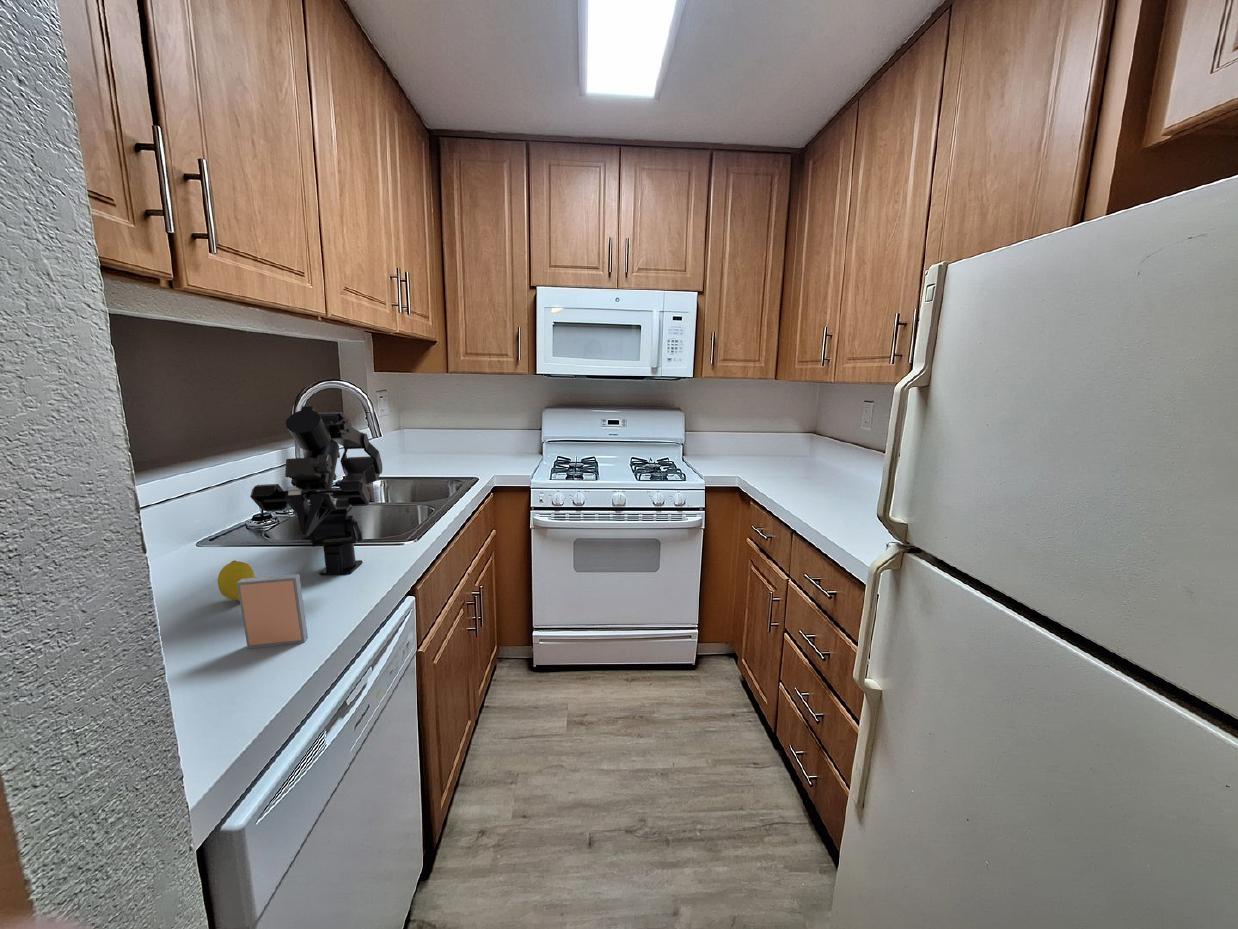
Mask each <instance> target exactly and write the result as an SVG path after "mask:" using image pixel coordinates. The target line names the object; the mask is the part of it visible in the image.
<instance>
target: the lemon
mask: <svg viewBox="0 0 1238 929" xmlns="http://www.w3.org/2000/svg"><path fill="white" fill-rule="evenodd" d="M246 578H256V575H255V572H254V570H253V568H252V567H251V565H249V564H248V563H246V562H244V561H237V560H236V559H235V560H234V559H233V560H231V561H230V562H229V563H227V564H226V565H225V566H222V568H221V569H220V571H219V573H218V576H217V586H218V590H219V592H220V594H221V595H222V596H223V597H225V598H227V599H230V600H235V601H237V602H240V599H239V593H238V587H237V582H238V581H240V580H241V579H246Z"/></svg>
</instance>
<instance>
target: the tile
mask: <svg viewBox="0 0 1238 929" xmlns="http://www.w3.org/2000/svg"><path fill="white" fill-rule="evenodd" d="M237 587H238V593H239V599H240V601H239V605H240V610H241V611H240V612H241V617H242V622H243V628H244V635H245V641H246V646H247V649H258V648H267V647H274V646H275V647H277V646H276V645H278V646H283V645H282V644H287V645H295V644H303V643H306V642H307V641H308V638H309V636H308V627H307V621H306V613H305V606H304V605H305V604H304V599H303V592H302V584H301V576H300V573H298V574H296V573H295V574H284V575H272V576H261V577H255V578H246V579H241V580H240V581H238V582H237Z"/></svg>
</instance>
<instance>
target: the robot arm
mask: <svg viewBox="0 0 1238 929" xmlns="http://www.w3.org/2000/svg"><path fill="white" fill-rule="evenodd" d="M316 410H317V409H315V406H314V405H302V406H301V409H300V410H298V411H296V412H294V413H292V414H291V415H289V417H288V418H286V420H285V427H286V428H287V430H288V431H289V433H290V434H291V436H292V438H293V440H294V442H296V444H297V445H298V447H299V449H302V450H304V455H303V457H300V458H299V457H297V458H286V459H285V469H284V472H285V473H284V476H285V478H290V479H291V480H290V481H291V482H290V484H291V485H292V487H289V488H287V490H284V489H283V488H282V487H281V485H280V484H279V483H273V484H272V483H271V484H269V483H268V484H257V485H255V486H254V487H253V488H252V490H251V493H250V496H249V497H250V498H251V499H252V501H253V502H254V503H255V505H257V506H258V507H259V508H260V509H261V511H264V512H266V513H267V512H282V511H284V510H285V509H286V508H288V505H289V507H290V508H291V510H292V511H293V512H294V513H295V514H296V516H297V521H298V524H299V529H300V534H301V536H302V537H303V538H304V537H305V538H306V537H309V539H310V542H311V546H312V547H314V548H316V547H319V546H320V547H321V546H322V547H323V556H324V563H325V564H324V565H325V566H324V568H322V569H321V570H320V571H319V572H318V575H321V576H322V575H323V576H324V575H344V574H345V575H348V574H352V572H354V571H355V570H356V569H357V568H358V567H359V566H360V565H361V564H363V560H362V559H361V560H360V559H359V560H357V559H356V551H355V544H358V542H361V541H363V540H364V536H363V535H364V534H363V533H364V532H363V526H362V525H361V524H360V522H359V520H358V518H357V517H356V516H355V510H356V508H357V507H364V506H365V507H366V506H369V505H370V499H371V497H370V496H371V494H370V491H369V490H368V487H367V485H370V484H372V483H375V482H377V480H378V479H379V477H380V476H381V474H382V473H383V461H382V459H381V458H382V457H381V454H380V451H379V450H378V449H377V448H376V447H375V446H374V445H373V444H372V443H371V442H370V440H369V436H368V434H367V433H365V432H361V431H360V430H358V429H357V428H355V427H353V426H352V423H351V422H350V419H349V418H348V417H347V416H346V415H345V414H344V413H343V412H342V411H339V412H337V411H336V412H317V411H316ZM340 446H342V447H343V449H344V450H343V453H342V456H341V454H340ZM362 449H363V451H364V452H365V453H366V454H367V455H368V456H347V453H348V450H362ZM340 457H341V458H340ZM338 459H340V460H339V462H340V465H341V468H342V471H343V474H344V475H345V477H344V479H343V480H341V481H340V482H339V485H338V487H333V485H334V481H337V478H338V476H337V474H336V468H337V463H338ZM309 503H310V504H309Z"/></svg>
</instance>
